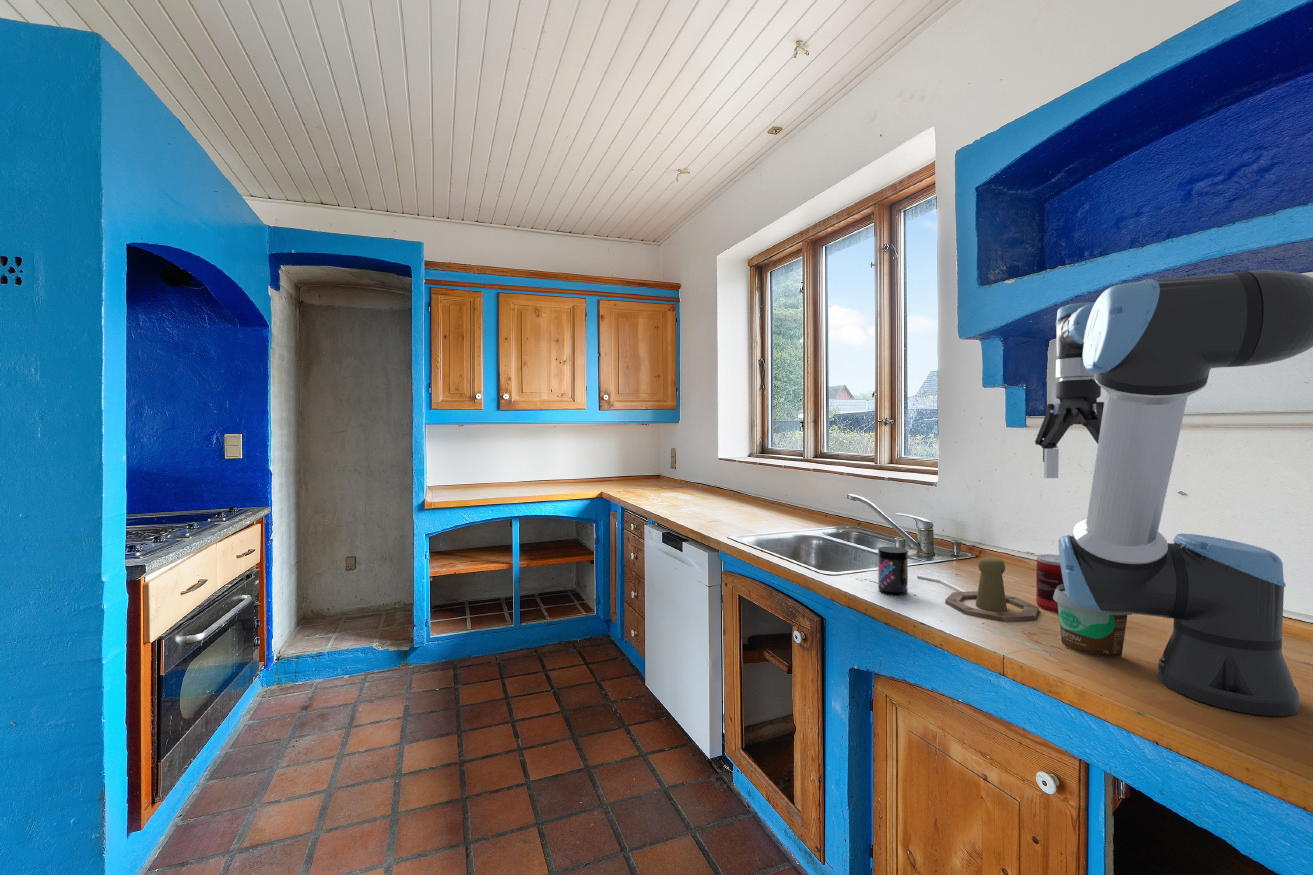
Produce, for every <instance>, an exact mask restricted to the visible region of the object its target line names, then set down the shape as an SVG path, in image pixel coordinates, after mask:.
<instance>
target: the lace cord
mask: <svg viewBox="0 0 1313 875" xmlns="http://www.w3.org/2000/svg"><path fill="white" fill-rule="evenodd" d="M916 578H917V579H922V580H926V581H931V582H934V583H935V582H936V583H940V584H942V585H944V586H946V587H948V588H950V589H952V590H954V591H955V592H967V591H966V590H964V589H963V588H960V587H958V586H956V585H953V584H951V583H950V582H948V581H945V580H944V579H941V578H940V579H939V578H935V577H930V576H925V575H921V574H920V575H919V574H918V575H916Z"/></svg>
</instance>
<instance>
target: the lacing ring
mask: <svg viewBox="0 0 1313 875" xmlns="http://www.w3.org/2000/svg"><path fill="white" fill-rule="evenodd" d="M977 593H978V590H975V591H972V590H971V591H966V592H958V591H953V592H951V594H950V595H948V597H946V599H945V605H948V606H950V607H952V608H954V609H956V610H957V611H959V612H961V613H962V614H964V615H967V616H968V615H969V616H974V617H980V618H983V619H989V620H996V621H1000V622H1014V621H1015V622H1016V621H1034V620H1035V619H1036V618H1037V616H1038V614H1039V612H1040V607H1039V606H1038V605H1035V604H1032V603H1031V602H1028V601H1026V600H1024V599H1022V598H1019V597H1016V596H1012V595H1007V594H1005V599H1006V603H1009V604H1011V605H1014V606H1016V607H1018V608H1020V609H1022V610H1021V611H1016V612H1014V611H1013V612H1012V611H1011V612H994V611H988V610H983V609H980V608H974V607H972V606H970V605H968V604H966V603H964V602H962V601H963V600H964V599H967V600H968V599H969V600H970V599H977ZM1035 621H1036V620H1035Z"/></svg>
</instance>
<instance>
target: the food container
mask: <svg viewBox="0 0 1313 875" xmlns="http://www.w3.org/2000/svg"><path fill="white" fill-rule="evenodd" d="M1053 599H1054V600H1055V601H1056V602H1058V611H1059V612H1058V618H1059V619H1058V620H1059V630H1060V639H1061V641H1060V642H1061V643H1062V645H1064V646H1065V647H1067V648H1068V649H1070V650H1073V651H1076V652H1079V653H1082V654H1087V655H1089V656H1090V655H1091V656H1095V657H1101V658H1102V657H1103V658H1121V657H1123V649H1124V643H1125V636H1126V635H1125V634H1126V628H1127V621H1128V616H1131V615H1133V614H1130V613H1120V612H1111V611H1098V610H1094V609H1088V608H1083V607H1078V606H1076V605H1074V604H1072V603H1071V602H1070V601H1069V599H1068V597H1067V595H1066V591H1065V589H1064V585H1063V584H1062V585H1059V586H1057V589H1056V590H1055V592H1054V596H1053Z"/></svg>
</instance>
